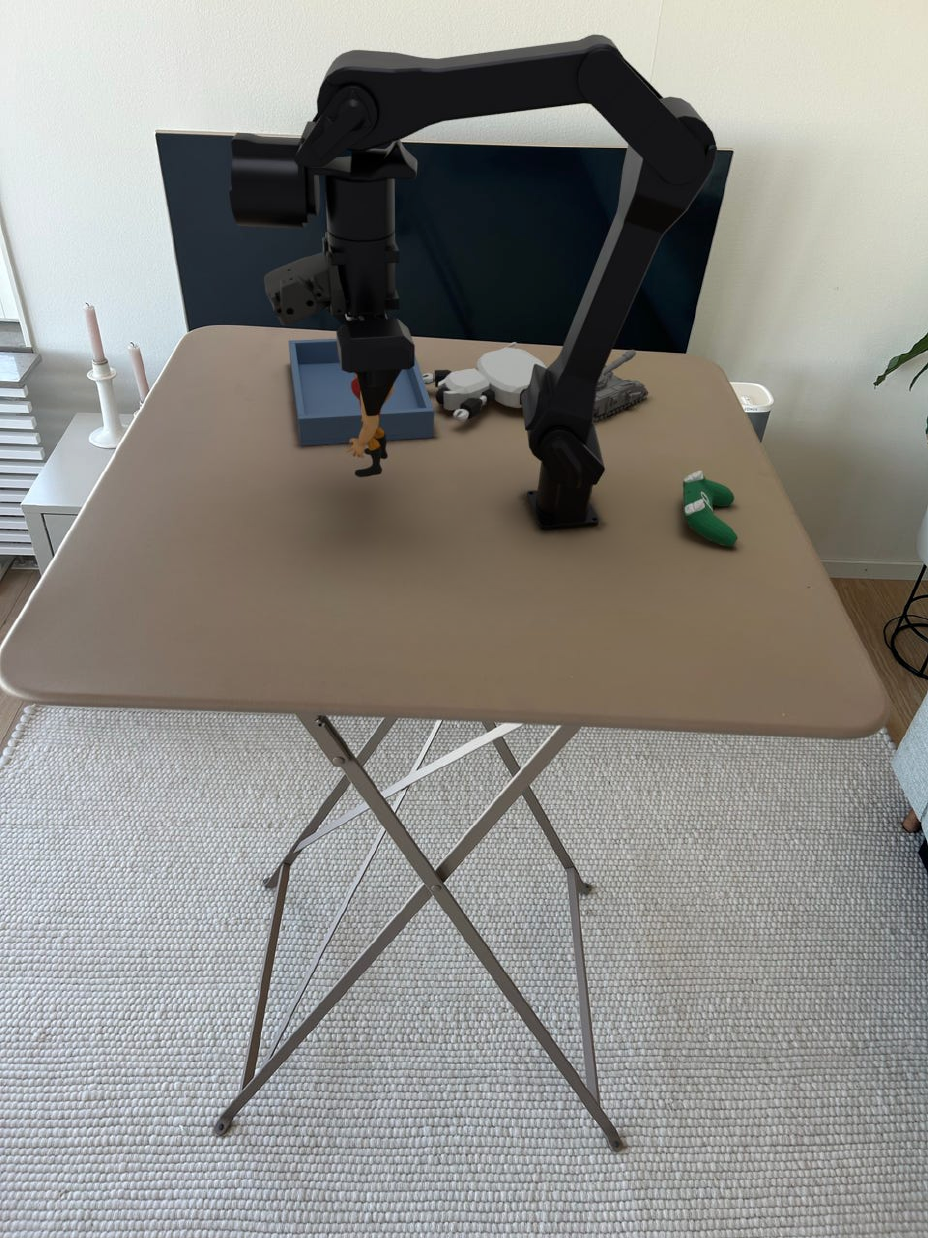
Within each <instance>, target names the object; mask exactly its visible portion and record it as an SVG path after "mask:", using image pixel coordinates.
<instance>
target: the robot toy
mask: <svg viewBox="0 0 928 1238" xmlns="http://www.w3.org/2000/svg"><path fill="white" fill-rule="evenodd" d="M516 345H517V342H516V341H513V342H511V343H510V344H509V345H507V346H505V347H503V348H501V349H497V350H493V351H489V352H485V353H484V354H482V355H481V356H480V357H479V358H478V359H477V362H476V368H475V367H474V368H467V369H462V370H461V369H460V370H456V371H451V370H449V369H435V370H434V374H433V373H430V372H426V373H423V374H422V377H423V380H424V383H425V385H427V386H428V385H429V386H430V385H431V384H434V388H438V389H437V390H436V392H435V394H434V395H435V396H434V397H435V401H436V402H437V404H439V405H440V406H443V409H445V410H448V411H454V412H453V413H452V415H453V418H454V419H456V420H457V419H458V421H462V422H464V421H466V420H472V419H473V418H475V417H477V416H478V415H479V414H480V413H481V410H482V407H483V406H485V405H489V404H491V403H492V402H494V401H496V402H497V403H499V404H501V405H503V406H504V407H508V408H509V407H510V408H515V409H521V408H522V401H521V395H522V393H523V392H524V391H525V390H526V389H527V387H528V385H529V383H530V380H531V375H532V370H533V367H534V364H538V365H540V366H542V367H544V368H546V369H547V368H548V367H547V366H546V365H545V363H544V362H543V361H542V360H541V359H539V358H538V357H536V356H534V355H533V354H531V353H529V352H527V351H525V350H523V349H521V348H515V347H516Z"/></svg>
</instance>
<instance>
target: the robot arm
mask: <svg viewBox="0 0 928 1238" xmlns="http://www.w3.org/2000/svg"><path fill="white" fill-rule="evenodd" d="M581 104H584V105H590V106H591V107H592V108H593V109H595V110H596V111H597V112H598V113H599V114H600V116H602V117H603V118H604V119H605V120H606V122H607V123H608V124H609V125H610V126H611V127H612V128H613V130H615V131H616V133H617V134H618V135H619V136H620V137H621V138H622V139H623V140H624V141H625V142H626V144H627V148H626V153H625V157H624V160H623V161H624V162H623V166H622V173H621V180H620V181H621V182H620V188H619V198H618V205H617V209H616V213H615V216H614V218H613V220H612V223H611V226H610V228H609V230H608V233H607V236H606V238H605V241H604V243H603V246H602V248H601V250H600V253H599V256H598V259H597V261H596V262H595V266H594V268H593V271H592V273H591V276H590V277H589V280H588V282H587V285H586V287H585V290H584V293H583V296H582V298H581V300H580V303H579V304H578V305H579V306H578V307H577V311H576V313H575V315H574V318H573V320H572V323H571V326H570V328H569V330H568V333H567V336H566V338H565V340H564V342H563V346H562V348H561V350H560V353H559V354H558V356H557V357H556V359H555V360H553V361H552V363H551V364H549V366H548V367H547V369H546V368H544V367H542V366H540V365H538V364H534V367H533V370H532V375H531V380H530V383H529V385H528V387H527V389H526V390H525V391H524V392H523V393H522V395H521V401H522V407H521V408H522V414H523V415H522V416H523V424H524V430H525V431H526V433H527V435H526V436H527V441H528V448H529V450H530V452H531V454H532V455H533V456H534V457H535V458H536V459H537V460H539V461H540V468H539V474H538V475H539V476H538V485H537V489H533V490H527V491H526V493H525V497H526V499H527V502H528V504H529V506H530V508H531V511H532V513H533V515H534V517H535V520H536V522H537V525H538V527H539V528H540V530H541V529H542V530H554V529H567V528H576V527H578V528H579V527H588V526H589V527H590V526H597V525H599V522H600V518H599V516H598V514H597V513H596V511H595V509H594V507H593V505H592V503H591V499H592V493H593V488H594V486H596V485H597V484H598V482H599V481H600V479H601V478H602V476H603V475H604V473H605V471H606V468H605V463H604V458H603V455H602V451H601V446H600V442H599V438H598V434H597V430H596V429H597V428H596V425H595V422H592V421H593V415H594V407H595V399H596V391H597V385H598V380H599V378H600V376H601V373H602V371H603V369H604V367H605V365H606V364H607V362H608V360H609V357H610V355H611V353H612V351H613V349H614V347H615V344H616V342H617V339H618V337H619V335H620V333H621V331H622V328H623V327H624V324H625V322H626V319H627V317H628V314H629V312H630V310H631V308H632V305H633V304H634V302H635V299H636V296H637V294H638V292H639V290H640V288H641V285H642V283H643V280H644V278H645V276H646V274H647V271H648V269H649V267H650V265H651V263H652V261H653V258H654V256H655V253H656V252H657V249H658V247H659V245H660V242H661V240H662V238H663V237H664V236H665V234H666V233H667V232H668V231H669V230H670V229H671V227H672V226H673V225H674V224H676V222H677V221H678V220H679V219H680V218H681V217H682V216H683V215H684V214H685V213H686V212H687V211H688V210H689V208H690V207H691V206H692V204H693V202H694V200H695V199H696V198H697V196H698V194H699V193H700V191H701V190H702V188H703V187H704V184H706V182H707V180H708V179H709V177H710V176H711V174H712V172H713V170H714V167H715V164H716V161H717V158H718V146H717V142H716V139H715V136H714V132H713V130H712V129H711V128H710V127H709V126H708V124H707V123H706V122H705V121H704V119H703V118H702V117H701V115H700V114H699V113H698V112H697V110H696V109H695V107H693V106H692V104H691V103H689V102H688V101H686V100H685V99H683V98H681V97H677V96H676V97H675V96H667V97H664V96H663V95H662V94H661V93H660V92H659V91H658V90H657V89H656V88H655V87H654V86H653V85H652V84H651V83H650V81H648V80H647V79H646V78H645V77H644V76H643V75H642V74H641V72H639V71H638V70H637V69H636V68H635V67H634V66H633V65H632V64H631V63H630V62H629V61H628V60H627V59H626V58H625V57H624V55H623V54H622V53H621V51H620V50H619V48H618V47H617V45H616V44H615V43H614V42H613V41H612V39H611V38H609V37H608V36H605V35H604V34H595V33H594V34H590V35H587V36H585V37H582V38H581V39H578V40H570V41H563V42H554V43H547V44H540V45H533V46H532V45H531V46H525V47H524V46H523V47H517V48H516V47H515V48H510V49H501V50H494V51H487V52H478V53H471V54H464V55H463V54H462V55H456V56H448V57H440V58H432V57H420V56H415V55H410V54H406V53H401V52H396V51H395V52H394V51H393V52H392V51H380V50H368V49H367V50H366V49H352V50H349V51H346V52H343V53H341V54H339V55H338V56H336V58H335V59H334V60H333V61H332V62H331V64H330V66H329V67H328V69H327V71H326V73H325V75H324V77H323V80H322V82H321V84H320V86H319V90H318V94H317V97H316V114H315V116H314V117H313V119H312V120H309V121H307V122H306V124H305V126H304V129H303V131H302V133H301V136H300V137H278V136H261V135H257V134H255V133H250V132H236V133H235V134H234V136H233V137H232V140H230V147H231V161H230V162H231V163H230V184H231V186H230V187H229V191H228V194H229V201H230V208H231V213H232V217H233V220H234V222H235V224H236V226H237V227H238V226H239V227H255V228H256V227H257V228H259V227H260V228H279V229H281V228H283V229H306V228H307V225H308V224H309V222H310V216H312V217H318V216H319V215H320V206H321V205H320V204H321V203H320V200H321V199H320V197H321V192H320V190H321V189H320V176H323V177H324V192H325V209H326V211H325V212H326V228H327V230H326V232H325V236H323V237H321V241H322V242H321V243H322V251H321V252H319V253H316V254H313V255H309V256H305V257H301V258H299V259H297V260H294V261H292V262H289V263H287V264H285V265H282V266H280V267H277V268H275V269H273V270H271V271H269V272H267V273H266V274H265V275H264V276H263V282H264V283H263V284H264V290H265V294H266V296H267V298H268V300H269V303H270V304H271V306H272V308H273V312H274V315H275V316H276V317H277V318H278V320H279V322H280V324H281V325H282V326H284V327H289V326H292V325H294V324H297V323H298V321H301V320H303V319H306V318H308V317H311V316H313V315H316V313H318V312H320V311H323V310H325V309H326V311H327V312H328V313H329V314H330V315H331V316H332V317H333V318H335V320H336V321H338V322H339V323H340V324H341V326H340V327H339V328H338V329H337V330H336V331H335V333H336V334H335V335H336V337H335V338H336V339H337V349H338V350H337V352H338V357H339V360H340V364H341V368H342V370H343V371H346V372H348V373H355V374H357V379H358V383H359V387H360V391H361V395H362V399H363V404H364V408H365V412H366V415H367V416H377V415H378V414H379V412H380V410H381V408H382V406H383V404H384V402H385V400H386V398H387V396H388V394H389V392H390V390H391V388H392V387H393V385H394V383H395V381H396V379H397V377H398V376H399V374H400V372H401V371H402V370H405V369H410V368H412V367H413V366H415V357H416V345H415V343H414V341H413V337H412V335H411V333H410V330H409V328H408V326H406V325H405V324H404V323H403V322H402V321H401V320H399V318H388V317H387V315H388V312H389V311H396V310H398V311H399V310H400V296H399V294H398V291H397V290H396V264H400V249H399V246H398V245H397V243H396V200H395V199H396V195H395V194H396V193H395V192H396V191H395V190H396V189H395V185H396V181H395V180H407V181H412V180H415V179H416V177H417V173H418V160H417V158H416V157H415V156H413V155H412V154H411V153H410V152H409V151H408V150H407V149H406V148H405V146H404V144H403V143H402V141H401V140H402V139H405V138H407V137H409V136H412V135H413V134H415V133H417V132H419V131H422V130H424V129H425V128H428V127H431V126H433V125H436V124H439V123H443V122H448V121H456V120H457V121H458V120H464V119H471V118H480V117H488V116H496V115H504V114H511V113H519V112H527V111H535V110H543V109H552V108H559V107H566V106H567V107H568V106H575V105H581ZM390 143H391V144H390ZM387 144H390V145H389V146H387V148H383V149H382V148H378V147H382V146H385V145H387ZM346 151H349V152H351V153H350V155H349V156H340V155H342V154H343V153H345V152H346Z"/></svg>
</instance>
